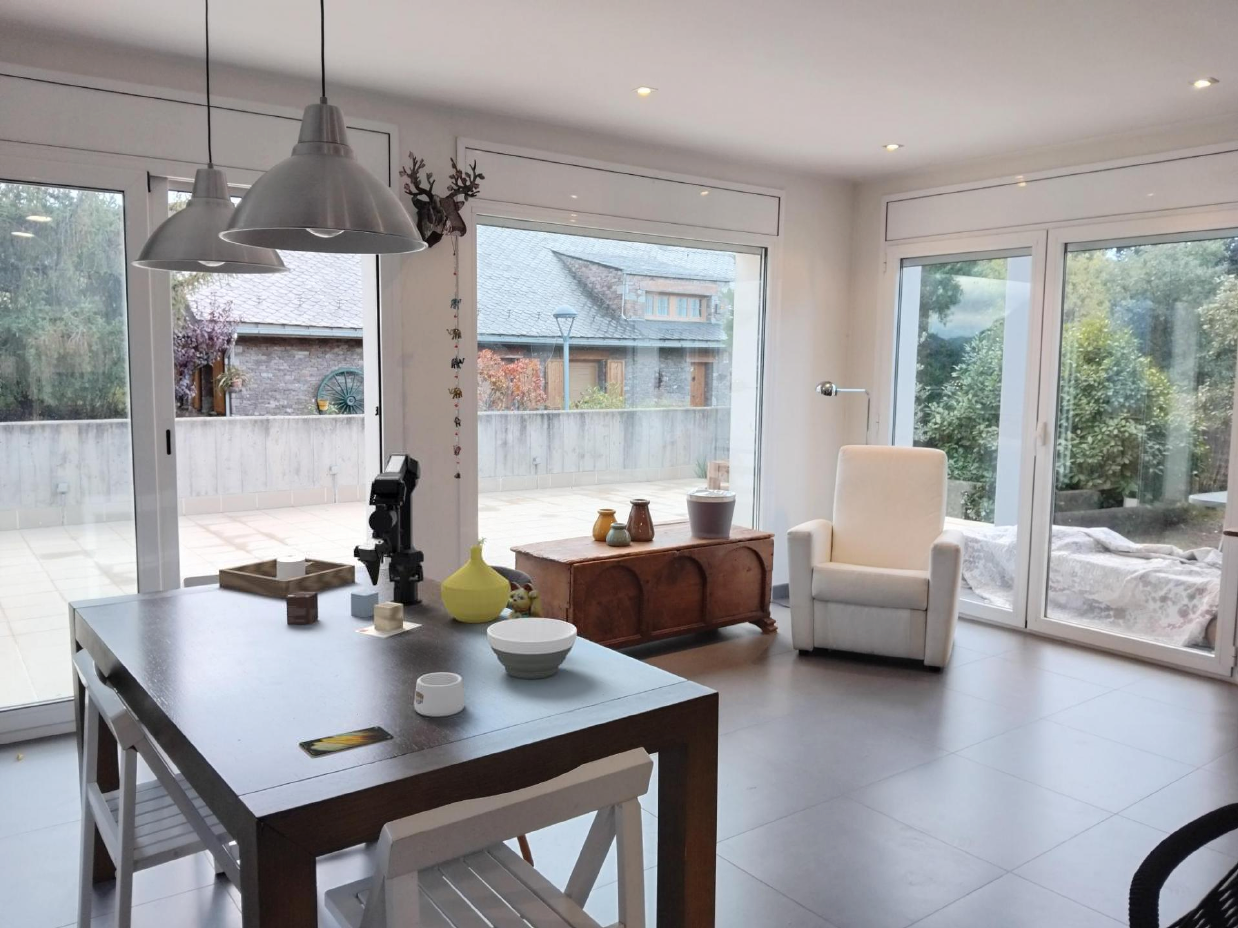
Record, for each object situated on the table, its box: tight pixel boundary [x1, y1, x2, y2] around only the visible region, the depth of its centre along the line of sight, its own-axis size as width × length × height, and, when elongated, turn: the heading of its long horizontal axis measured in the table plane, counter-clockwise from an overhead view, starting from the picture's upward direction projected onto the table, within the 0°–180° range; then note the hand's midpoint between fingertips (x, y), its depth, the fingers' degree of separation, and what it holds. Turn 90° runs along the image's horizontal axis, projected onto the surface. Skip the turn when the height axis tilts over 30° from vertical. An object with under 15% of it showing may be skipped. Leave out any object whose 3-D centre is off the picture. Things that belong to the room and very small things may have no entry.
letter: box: [353, 620, 423, 639], centre depth 241 cm, size 14×10×1 cm
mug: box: [413, 671, 466, 718], centre depth 185 cm, size 12×10×6 cm
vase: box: [440, 545, 512, 624], centre depth 251 cm, size 18×18×19 cm
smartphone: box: [298, 725, 395, 758], centre depth 168 cm, size 7×1×15 cm
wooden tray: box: [218, 555, 356, 600], centre depth 288 cm, size 27×28×5 cm
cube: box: [350, 589, 380, 618], centre depth 254 cm, size 5×5×6 cm
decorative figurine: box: [506, 581, 543, 620], centre depth 230 cm, size 10×8×15 cm
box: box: [285, 591, 319, 625], centre depth 246 cm, size 6×6×7 cm
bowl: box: [486, 617, 578, 680], centre depth 208 cm, size 20×20×10 cm
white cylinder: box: [276, 555, 314, 580], centre depth 288 cm, size 20×19×8 cm
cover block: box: [373, 601, 404, 632], centre depth 240 cm, size 5×5×6 cm
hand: (388, 587), depth 240 cm, fingers open, 9 cm apart
